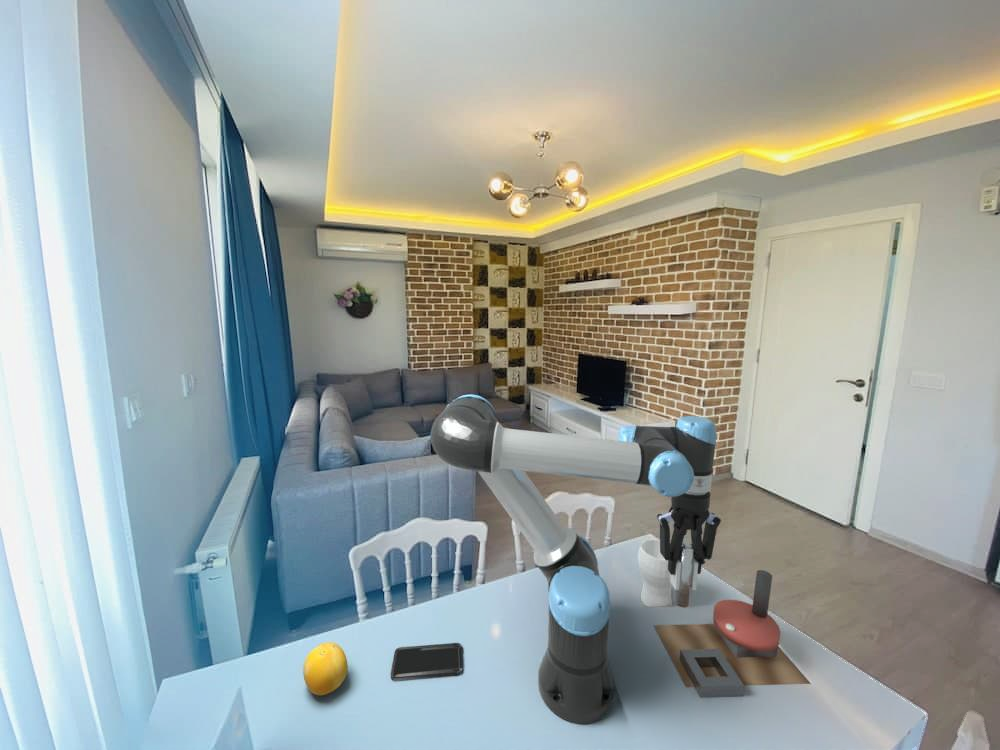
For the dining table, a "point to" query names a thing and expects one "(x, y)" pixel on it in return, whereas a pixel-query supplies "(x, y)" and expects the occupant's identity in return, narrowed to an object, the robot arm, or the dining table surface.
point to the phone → (427, 662)
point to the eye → (711, 686)
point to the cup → (654, 575)
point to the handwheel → (749, 618)
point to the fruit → (325, 668)
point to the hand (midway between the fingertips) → (682, 585)
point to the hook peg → (684, 574)
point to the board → (729, 656)
